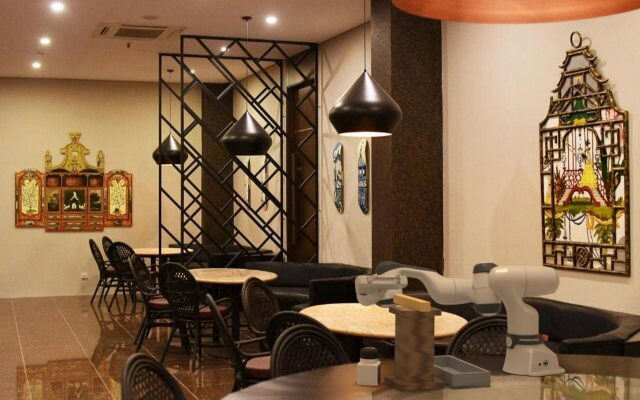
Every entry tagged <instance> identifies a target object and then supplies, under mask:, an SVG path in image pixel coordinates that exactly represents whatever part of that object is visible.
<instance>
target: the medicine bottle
mask: <svg viewBox="0 0 640 400" xmlns="http://www.w3.org/2000/svg"><path fill="white" fill-rule="evenodd" d="M359 353H360V354H359V355H360V356H359V360H360V361H359V362H358V363H357V366H356V385H357V386H365V387H367V386H368V387H378V386H379V385H380V384H381V381H382V380H381V378H382V377H381V374H382V373H381V371H382V370H381V368H382V367H381V366H382V365H381V360H379V350H378V349H377V348H375V347H363V348H361V349H360V351H359Z"/></svg>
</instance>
